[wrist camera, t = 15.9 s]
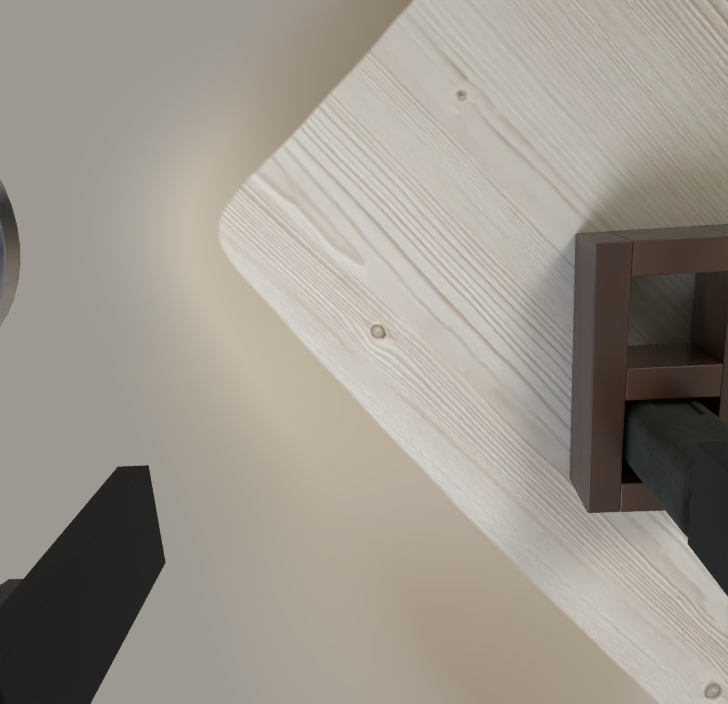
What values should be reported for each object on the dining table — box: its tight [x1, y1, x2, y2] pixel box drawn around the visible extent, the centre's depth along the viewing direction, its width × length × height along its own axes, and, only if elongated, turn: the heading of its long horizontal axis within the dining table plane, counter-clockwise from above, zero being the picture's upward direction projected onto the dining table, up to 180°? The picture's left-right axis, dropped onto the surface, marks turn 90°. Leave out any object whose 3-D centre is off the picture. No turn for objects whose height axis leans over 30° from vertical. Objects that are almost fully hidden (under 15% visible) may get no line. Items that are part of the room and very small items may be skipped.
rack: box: [570, 224, 728, 513], centre depth 45 cm, size 10×19×5 cm, turn 4°
